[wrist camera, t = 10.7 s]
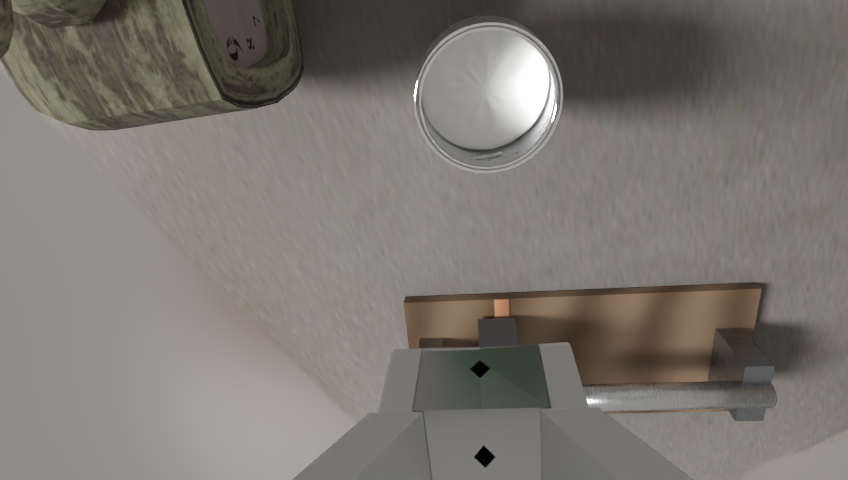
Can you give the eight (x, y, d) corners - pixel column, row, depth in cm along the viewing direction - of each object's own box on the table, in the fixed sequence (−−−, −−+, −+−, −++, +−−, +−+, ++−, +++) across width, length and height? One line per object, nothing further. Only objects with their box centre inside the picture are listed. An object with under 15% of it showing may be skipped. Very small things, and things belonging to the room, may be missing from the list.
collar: (514, 317, 43) (526, 391, 35) (516, 405, 47) (528, 490, 38) (477, 319, 43) (481, 392, 35) (482, 406, 47) (486, 490, 39)
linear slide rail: (741, 327, 42) (782, 374, 37) (732, 378, 44) (770, 430, 39) (419, 338, 45) (413, 384, 40) (424, 385, 47) (419, 435, 42)
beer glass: (546, 87, 37) (593, 133, 23) (458, 134, 39) (455, 203, 25) (501, -8, 35) (526, -19, 21) (410, 47, 37) (379, 70, 23)
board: (755, 282, 42) (762, 289, 41) (733, 403, 47) (739, 411, 46) (405, 296, 45) (403, 303, 44) (417, 409, 49) (416, 417, 48)
